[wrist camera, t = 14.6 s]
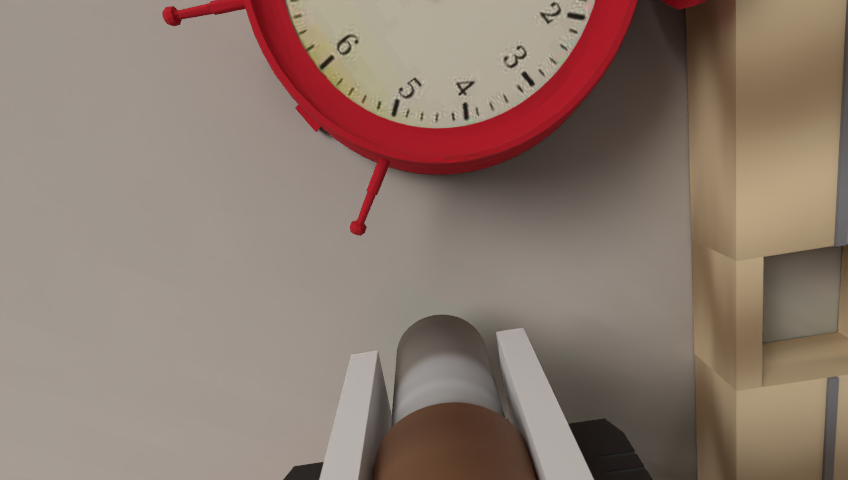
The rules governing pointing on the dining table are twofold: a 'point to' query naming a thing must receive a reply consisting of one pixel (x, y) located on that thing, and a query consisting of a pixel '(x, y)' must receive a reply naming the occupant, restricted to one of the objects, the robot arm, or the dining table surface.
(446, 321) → the wooden tool handle
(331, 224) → the dining table surface
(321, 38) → the alarm clock
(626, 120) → the dining table surface
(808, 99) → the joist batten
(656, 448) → the dining table surface
